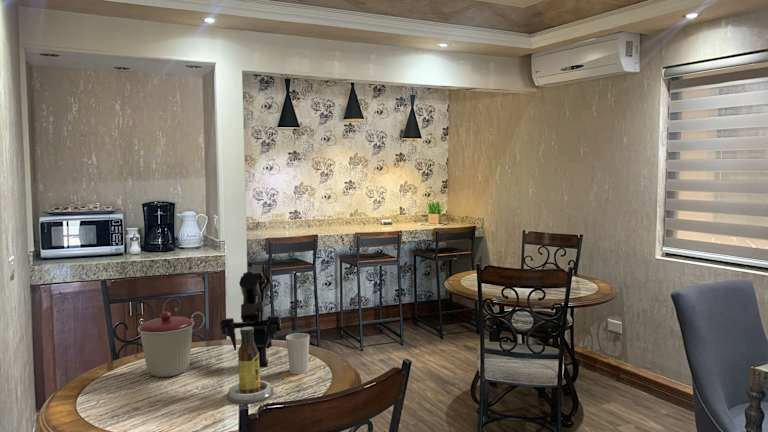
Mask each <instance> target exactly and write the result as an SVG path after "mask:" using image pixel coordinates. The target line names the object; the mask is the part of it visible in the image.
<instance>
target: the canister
mask: <svg viewBox="0 0 768 432" xmlns="http://www.w3.org/2000/svg"><path fill="white" fill-rule="evenodd" d="M193 326H195V321H194V320H192V319H190V318H189V317H184V316H178V315H177V316H176V315H175V316H172V314H171V312H170V311H163V312H162V313H160V317H157V318H154V319H149V320H147V321H144V323H142V324H141V325H139V326H138V328H137V331H138V332H139V333H140V339H141V344H142V350H143V355H144V360H145V364H146V368H147V371H148V373H149V375H151V376H153V377H157V378H158V377H159V378H165V377H166V378H168V377H174V376H177V375H180V374H182V373H183V374H184V373H185V372H186V371H187V370H188V369H189V367H190V365H191V364H190V363H191V356H192V354H191V353H192V343H193V342H192V338H193Z"/></svg>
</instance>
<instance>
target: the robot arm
mask: <svg viewBox="0 0 768 432" xmlns="http://www.w3.org/2000/svg"><path fill="white" fill-rule="evenodd" d="M271 285H272V273H271V270H270V269H268V268H267V267H266V263H262V262H261V263H260V262H259V263H252V264H250V269H249V270H248V271H246V272H244V273H243V275H242V276H241V277H240V280H239V287H240V290H241V291H240V292H241V295H242V296H243V298H242V299H243V300H242V304H241V305H240V320H241V321H236V322H235V320H234V318H233V317H232V318H231V317H228V318H222V319H221V320H219V321H220V322H219V328H220V332H221V334H222V335H225V336H226V337H229V338H230V341H231V343H232V347H233V350H234V351H236V350H237V337H236V329H241V328H243V327H253V328H254V333H253V334H254V342H255V345H256V347H257V350H258V352H259V366H260V368H261V367H268V364H269V359H268V358H267V349H270V348H271V347H272V337H273V336H274V334H275V335H276V334H277V333H278V332H280V331H282V322H281V317H280V316H279V315H269V316H267V320H265V303H266V302H265V300H266V295H267V294H268V293H269V292H270V286H271Z"/></svg>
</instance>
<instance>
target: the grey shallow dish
mask: <svg viewBox="0 0 768 432" xmlns="http://www.w3.org/2000/svg"><path fill="white" fill-rule="evenodd" d="M274 393H275V392H274V388H273V386H271V383H270V382H268V381H267V380H261V379H260V391H259V392H257V393H252V394H241V392H240V384H239V382H237V383H236V382H235V383H234V384H232V385H231V386H230V387H229V391H227V393H226V400H227V401H228V402H230V403H233V404H239V405H248V404H249V405H250V404H256V403H261V402H263V401H266V400H268V399H270V398H271V397H272V396H273V395H274Z"/></svg>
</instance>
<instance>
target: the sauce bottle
mask: <svg viewBox="0 0 768 432" xmlns="http://www.w3.org/2000/svg"><path fill="white" fill-rule="evenodd" d="M239 332H240V338H241V341H240V342H241V343H240V346H239V347H238V350H237V353H238V354H237V356H238V360H237V363H238V380H239V382H238V383H239V384H240V392H241V394H252V393H257V392H259V391H260V380H261V373H260V371H261V369H260V368H261V367H260V366H259V352H258V350H257V347H256V345H255V342H254V334H253V333H254V328H253V327H243V328H239Z"/></svg>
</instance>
